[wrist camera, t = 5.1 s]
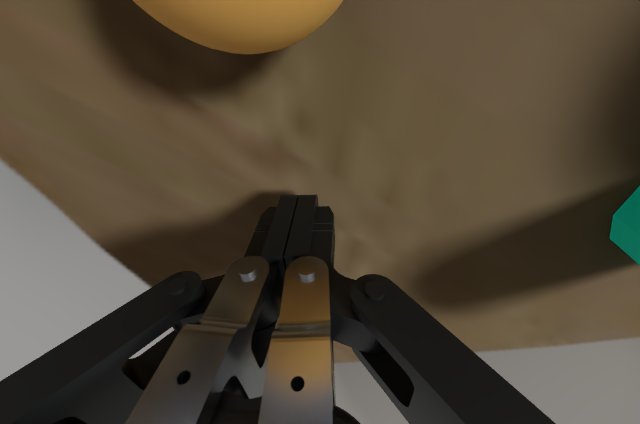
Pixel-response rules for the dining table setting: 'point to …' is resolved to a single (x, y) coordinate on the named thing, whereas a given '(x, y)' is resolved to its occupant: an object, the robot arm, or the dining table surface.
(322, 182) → the dining table surface
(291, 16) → the ball
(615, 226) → the candle
